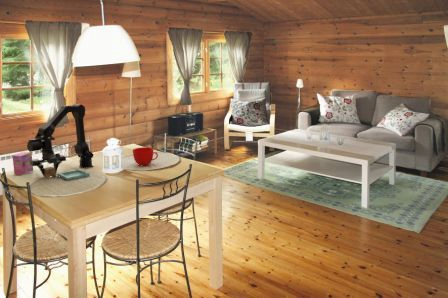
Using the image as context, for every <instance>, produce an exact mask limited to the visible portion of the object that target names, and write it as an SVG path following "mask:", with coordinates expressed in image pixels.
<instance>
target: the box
mask: <svg viewBox="0 0 448 298" xmlns="http://www.w3.org/2000/svg"><path fill="white" fill-rule="evenodd" d="M32 153H33V151H32V152H30V151H21V152H20V153H16V154H13V155H12V163H13V164H12V166H13V172H14V176H15V175H16V176H24V175H26V174H28V173H30V172H33V171H34V166H32V165H30V161H31V160H33V154H32Z"/></svg>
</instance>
